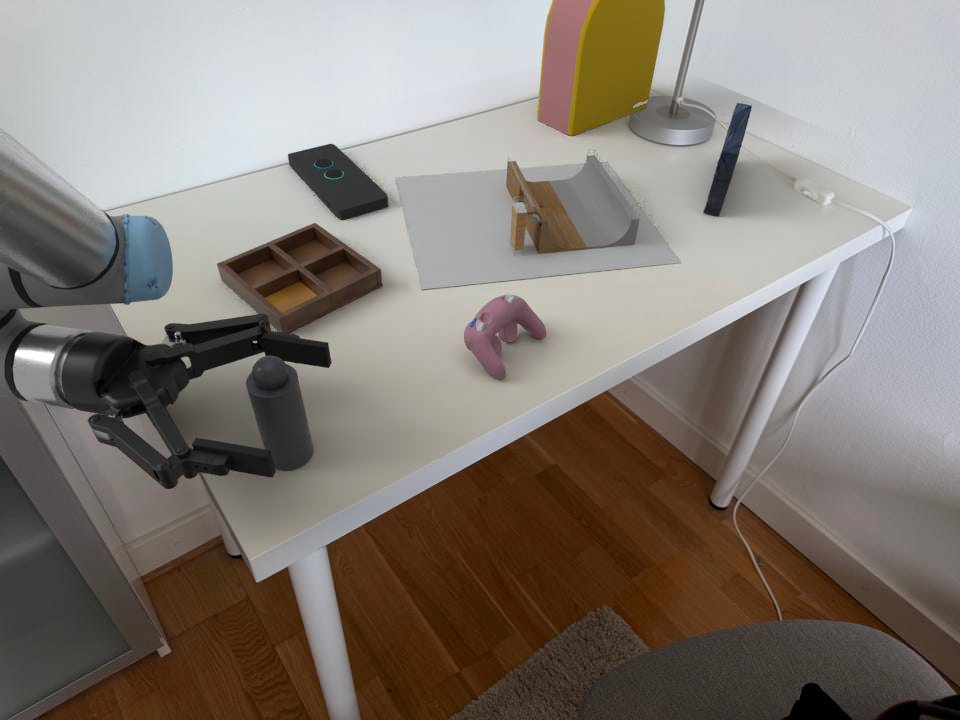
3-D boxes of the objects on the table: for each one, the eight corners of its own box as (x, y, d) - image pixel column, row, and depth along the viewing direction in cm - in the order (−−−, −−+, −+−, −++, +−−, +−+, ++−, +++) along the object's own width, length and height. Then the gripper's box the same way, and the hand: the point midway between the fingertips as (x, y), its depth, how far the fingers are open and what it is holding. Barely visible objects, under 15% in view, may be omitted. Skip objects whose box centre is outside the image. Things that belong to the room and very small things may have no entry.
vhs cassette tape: (719, 217, 101) (738, 154, 94) (699, 213, 102) (717, 150, 95) (737, 164, 113) (755, 105, 107) (719, 161, 114) (736, 102, 107)
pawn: (283, 478, 64) (257, 385, 56) (258, 451, 67) (230, 358, 58) (322, 453, 67) (303, 361, 58) (297, 428, 69) (275, 336, 61)
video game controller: (521, 334, 83) (502, 283, 80) (551, 335, 80) (533, 281, 77) (472, 380, 77) (450, 326, 74) (504, 383, 74) (481, 327, 71)
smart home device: (333, 141, 112) (390, 195, 100) (334, 151, 113) (391, 206, 101) (284, 153, 108) (337, 210, 96) (286, 163, 110) (339, 221, 97)
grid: (283, 336, 79) (279, 318, 77) (221, 280, 87) (216, 263, 85) (382, 286, 87) (381, 269, 85) (317, 238, 94) (315, 222, 92)
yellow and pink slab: (612, 91, 135) (637, -63, 117) (648, 107, 130) (680, -53, 112) (535, 118, 124) (548, -46, 106) (571, 136, 119) (591, -34, 101)
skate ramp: (681, 262, 92) (694, 213, 87) (422, 289, 86) (420, 238, 81) (607, 161, 113) (614, 116, 108) (395, 177, 107) (392, 131, 102)
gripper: (166, 318, 76) (351, 346, 73) (13, 502, 58) (251, 548, 55) (146, 262, 71) (343, 289, 68) (-30, 445, 53) (230, 492, 50)
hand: (302, 405), depth 62 cm, fingers open, 13 cm apart
